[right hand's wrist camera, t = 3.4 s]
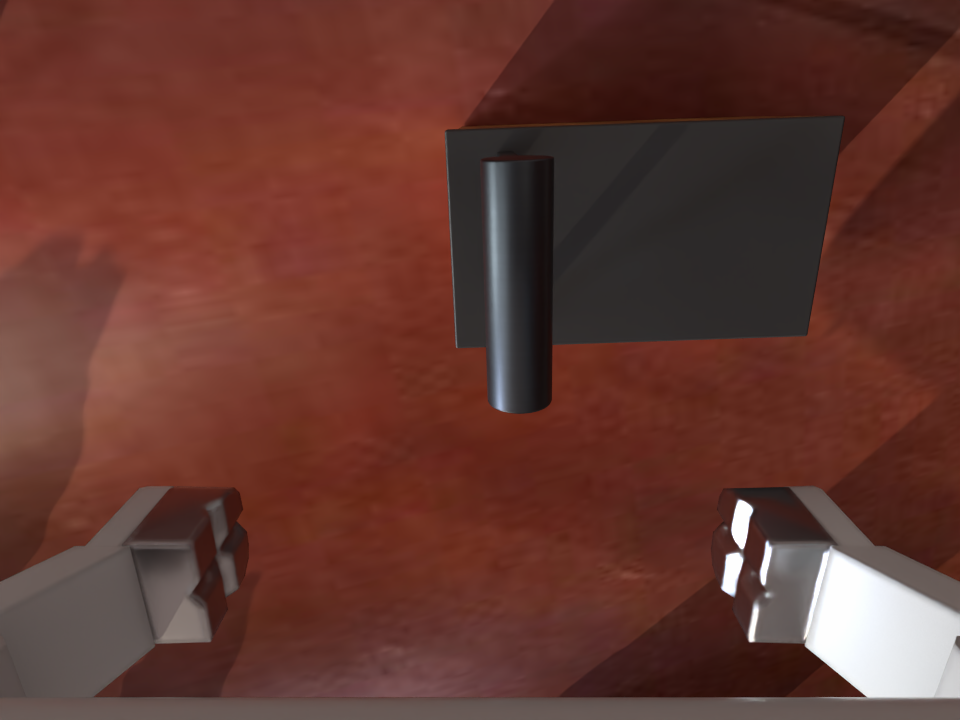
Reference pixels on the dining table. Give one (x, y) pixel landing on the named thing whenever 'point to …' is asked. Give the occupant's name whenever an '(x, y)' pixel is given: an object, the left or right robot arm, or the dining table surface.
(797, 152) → the lid
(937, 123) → the dining table surface
